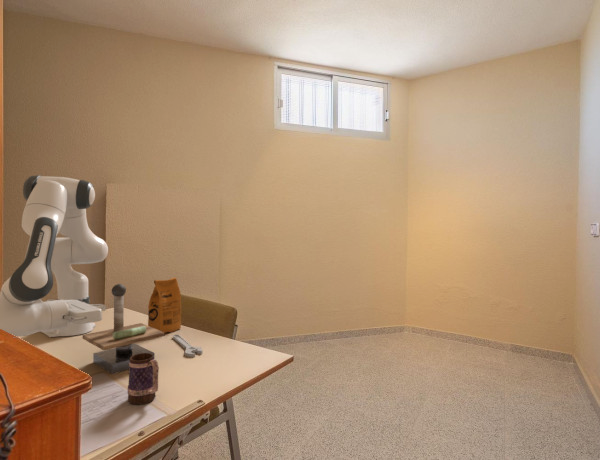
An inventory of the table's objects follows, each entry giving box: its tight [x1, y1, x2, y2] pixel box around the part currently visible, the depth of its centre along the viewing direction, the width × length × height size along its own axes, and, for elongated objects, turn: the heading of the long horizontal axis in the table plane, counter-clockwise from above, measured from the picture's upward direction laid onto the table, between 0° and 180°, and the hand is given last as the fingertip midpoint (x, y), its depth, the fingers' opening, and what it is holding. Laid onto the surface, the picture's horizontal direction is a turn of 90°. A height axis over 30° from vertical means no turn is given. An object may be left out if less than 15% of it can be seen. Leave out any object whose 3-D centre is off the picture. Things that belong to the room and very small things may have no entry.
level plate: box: [82, 283, 165, 351], centre depth 131 cm, size 16×20×17 cm
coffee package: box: [147, 277, 182, 334], centre depth 167 cm, size 10×12×22 cm
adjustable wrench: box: [172, 334, 204, 358], centre depth 149 cm, size 25×6×2 cm, turn 30°
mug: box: [127, 353, 160, 406], centre depth 105 cm, size 10×7×12 cm
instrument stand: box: [92, 343, 155, 375], centre depth 132 cm, size 14×14×8 cm
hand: (104, 307), depth 130 cm, fingers closed
